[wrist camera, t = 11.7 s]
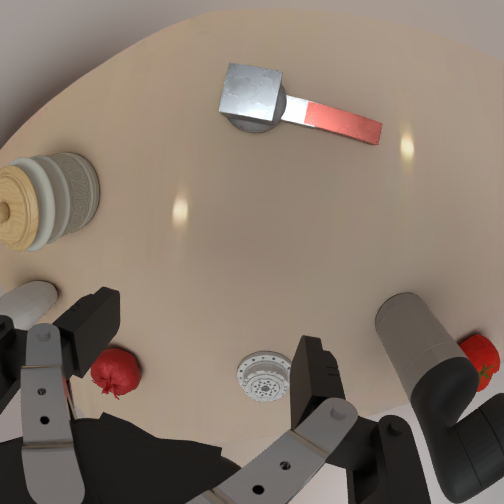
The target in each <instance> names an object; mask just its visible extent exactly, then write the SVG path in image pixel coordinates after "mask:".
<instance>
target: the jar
mask: <svg viewBox="0 0 504 504" xmlns="http://www.w3.org/2000/svg"><path fill="white" fill-rule="evenodd" d="M98 202H99V183H98V179H97V176H96V173H95V171H94V169H93V167H92V166H91V164H90V163H89V162H88V161H87V160H86V159H85V158H83V157H82V156H80V155H77V154H73V153H58V154H56V155H47V156H42V155H37V156H33V157H31V158H28V157H20V158H17V159H15V160H14V161H12V162H11V163H10V164H9V165H8V166H6V167H4V168H3V169H1V170H0V240H1V241H2V242H3V243H4V244H5V245H6V246H7V247H8V248H10V249H11V250H14V251H23V250H24V251H28V252H33V251H37V250H39V249H41V248H42V247H44V246H45V245H46V244H50V243H53V242H55V241H56V240H58V239H59V238H60V237H62V236H64V235H66V234H68V233H72V232H75V231H77V230H79V229H81V228H82V227H84V226H85V225H86V224H87V223H88V222H89V221H90V220H91V219H92V217H93V216H94V214H95V212H96V209H97V206H98Z"/></svg>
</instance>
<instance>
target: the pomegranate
mask: <svg viewBox="0 0 504 504" xmlns="http://www.w3.org/2000/svg"><path fill="white" fill-rule="evenodd" d="M91 376H92V378H93V380H94V381H95V382H94V381H93V380H92V381H93V382H94V383H96V384H97V385H98V386H99V387H101V388H103V390H102V393H105V394H108V393H109V392H112V393H113V394H114V396H115V398H117V399H119V398H118V397H117V396H116V395H118V396H120V395H124V394H126V393H128V392H130V391H131V390H134V389H136V388H137V387H138V385H139V383H140V379H141V374H140V369H139V366H138V365H137V363H136V359H135V358H134V356H133V355H132V354H130V353H128V352H125V351H123V350H121V349H117V348H112V349H105V350H103V351H102V353H101V354H100V355H99V357H98V358H97V359H96V361H95V362H94V363H93V365H92V366H91ZM108 391H109V392H108Z"/></svg>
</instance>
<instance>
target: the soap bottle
mask: <svg viewBox="0 0 504 504" xmlns="http://www.w3.org/2000/svg"><path fill="white" fill-rule="evenodd" d="M57 298H58V295H57V291H56V289H55V287H54V286H53V285H52V284H50V283H47V282H43V281H32V282H29V283H26V284H24V285H22V286H20V287H18V288H16V289H14V290H12V291H10V292H8V293H6V294H4V295H3V296H2V297H0V315H7V316H9V317H10V318H12V320H13V323H14V327H15V328H16V329H21V330H28V329H29V328H30V327H31V326H33V325H34V324H35V323H36V322H37V321H38V320H39V319H40V318H41V317H42V316H43V315H44V314H45V313H46V312H47V311H48V310H49V309H50V308H51V307H52V306H53V305H54V304H55V303H56V300H57Z"/></svg>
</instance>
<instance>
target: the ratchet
mask: <svg viewBox="0 0 504 504" xmlns="http://www.w3.org/2000/svg"><path fill="white" fill-rule="evenodd" d="M228 120H229V121H230V122H231V123H232V124H233V125H235V126H236V127H238V128H239V129H241V130H243V131H246V132H250V133H262V132H266V131H268V130H270V129H272V128H274V127H275V126H276V125H277V124H278V123H279V122H280V121H283V122H287V123H291V124H296V125H300V126H304V127H308V128H312V129H313V128H315V129H319V130H322V131H326V132H330V133H333V134H337V135H340V136H344V137H347V138H351V139H354V140H357V141H360V142H363V143H367V144H370V145H378V143H379V138H380V134H381V129H382V123H380V122H377V121H374V120H371V119H368V118H365V117H362V116H359V115H356V114H352V113H349V112H346V111H343V110H339V109H336V108H332V107H329V106H325V105H321V104H319V103H315V102H312V101H308V100H303V99H299V98H295V97H291V96H286V92H285V90H284V87H283V86H282V84H281V88H280V93H279V97H278V102H277V106H276V111H275V116H274V120H273V125H272V126H268V125H263V124H258V123H253V122H248V121H242V120H237V119H231V118H228Z"/></svg>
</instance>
